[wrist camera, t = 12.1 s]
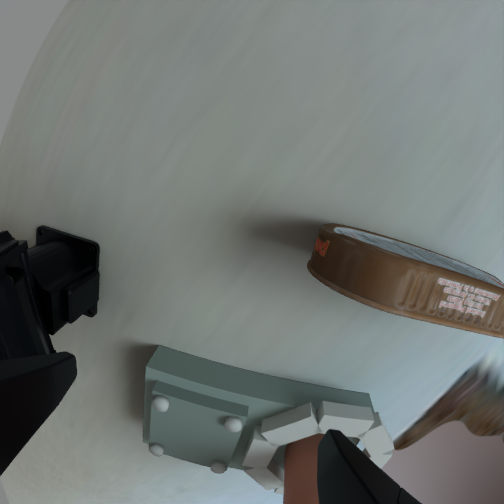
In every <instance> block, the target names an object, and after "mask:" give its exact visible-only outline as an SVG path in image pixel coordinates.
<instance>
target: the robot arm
mask: <svg viewBox="0 0 504 504" xmlns="http://www.w3.org/2000/svg"><path fill="white" fill-rule="evenodd" d="M41 230H42V232H43V234H42V232H41ZM92 247H94V251H93V250H92ZM99 253H100V247H99V245H98V244H97V243H96V242H94V241H91V240H87V239H84V238H81V237H78V236H75V235H71V234H68V233H65V232H62V231H59V230H56V229H53V228H49V227H46V226H40V227H38V228H37V233H36V246H34V247H31V248H29V249H28V245H27V240H22V241H18V240H15V239H14V238H13V237H12V236H11V235H10V233H9V232H8V231H1V232H0V475H2V474H3V472H4V471H5V470H6V468H7V467H8V466H9V465H10V463H11V462H12V461H13V460H14V458H15V457H16V456H17V455H18V453H19V452H20V451H21V450H22V448H23V447H24V446H25V445H26V443H27V442H28V441H29V440H30V438H31V437H32V436H33V435H34V434H35V432H36V431H37V430H38V429H39V428H40V426H41V425H42V424H43V423H44V422H45V420H46V419H47V418H48V417H49V416H50V414H51V413H52V412H53V411H54V410H55V408H56V407H57V406H58V405H59V403H60V402H61V400H62V399H63V397H64V396H65V394H66V393H67V391H68V389H69V388H70V386H71V385H72V383H73V382H74V380H75V379H76V376H77V366H76V358H75V356H74V355H73V354H71V353H68V352H58V353H56V350H54V348H53V345H52V342H51V339H50V336H49V334H50V335H54V334H55V333H56V332H57V331H58V330H60V329H61V328H62V327H63V326H64V325H65V324H66V323H69V324H71V323H73V322H74V321H75V320H77V319H78V318H79V317H80V316H81V315H82V314H84V315H86V316H88V317H94V316H95V315H96V314H97V301H98V300H99V276H100V273H99V271H98V268H99ZM90 310H91V311H92V312H91V311H90ZM317 489H318V498H319V504H422V503H420V502H419V501H417V500H416V499H415V498H414V497H412V496H411V495H410V494H409V493H408V492H407V491H405V490H404V489H403V488H400V486H399V485H398V484H397V483H396V482H395V481H393V479H391V478H390V477H389V476H388V475H387V474H386V473H385V472H383V470H381V469H380V468H379V467H378V466H377V465H376V464H375V463H374V462H373V461H372V460H371V459H370V458H368V457H367V456H366V455H365V454H364V453H363V452H362V451H361V450H360V449H359V448H358V447H357V446H356V445H355V444H354V443H352V442H351V441H350V440H349V439H348V438H347V437H346V436H345V435H344V434H343V433H342V432H341V431H340V430H335V429H329V430H327V432H326V433H325V435H324V436H323V438H322V439H321V441H320V443H319V445H318V453H317Z"/></svg>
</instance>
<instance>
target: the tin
mask: <svg viewBox="0 0 504 504" xmlns="http://www.w3.org/2000/svg"><path fill="white" fill-rule="evenodd" d="M307 268H308V270H309V272H310V273H311V274H312V275H313V276H314V277H315V278H317V279H318V280H319V281H320V282H322V283H323V284H325V285H326V286H328V287H330V288H331V289H332V290H334V291H336V292H338V293H340V294H342V295H344V296H346V297H349V298H351V299H353V300H356V301H358V302H360V303H363V304H365V305H368V306H370V307H373V308H376V309H379V310H382V311H385V312H388V313H392V314H396V315H400V316H404V317H408V318H412V319H417V320H421V321H426V322H430V323H434V324H438V325H444V326H447V327H453V328H457V329H461V330H465V331H471V332H475V333H479V334H484V335H489V336H493V337H498V338H504V283H502V282H501V281H500V280H499V279H498V278H496V277H495V276H493V275H491V274H489V273H487V272H485V271H482V270H480V269H477V268H475V267H473V266H470V265H468V264H465V263H463V262H460V261H457V260H455V259H452V258H449V257H446V256H444V255H441V254H438V253H435V252H432V251H430V250H427V249H424V248H421V247H418V246H415V245H412V244H409V243H406V242H403V241H400V240H396V239H393V238H390V237H387V236H383V235H380V234H376V233H373V232H369V231H366V230H362V229H358V228H354V227H350V226H346V225H340V224H326V225H324V226H323V227H322V228H321V229H320V231H319V234H318V236H317V240H316V243H315V247H314V250H313V254H312V257H311V259H310V260H309V261H308V263H307Z"/></svg>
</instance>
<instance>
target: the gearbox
mask: <svg viewBox="0 0 504 504" xmlns="http://www.w3.org/2000/svg"><path fill="white" fill-rule="evenodd" d="M329 429H335V430H340V431H341V432H342V433H343V434H344V435H345V436H346V437H347V438H348V439H349V440H350V441H351V442H352V443H354V444H355V445H357V444H358V442H359V441H360V440H361V442H362V443H363V445H364V446H365V449H364V450H363V451H362V452H363V453H364V454H365V455H366V456H367V457H368V458H370V459H371V460H372V461H373V462H374V463H375V464H376V465H377V466H378V467H379V468H380V469H381V468H382V467H383V466H384V465H385V463H386V462H387V461H388V460H389V459H390V458H391V456H392V455H393V453H392V450H393V449H394V445H393V442H392V439H391V436H390V434H389V432H388V430H387V428H386V426H385V424H384V422H383V420H382V418H381V416H380V415H379V413H378V412H376V413H375V412H374V409H373V405H372V402H371V399H370V395H369V394H367V393H360V392H354V391H347V390H341V389H335V388H329V387H323V386H318V385H312V384H307V383H302V382H297V381H292V380H287V379H283V378H278V377H274V376H269V375H265V374H260V373H256V372H252V371H248V370H244V369H240V368H236V367H232V366H228V365H225V364H221V363H217V362H214V361H210V360H206V359H203V358H200V357H196V356H193V355H189V354H186V353H183V352H179V351H176V350H173V349H170V348H167V347H164V346H161V345H159V346H158V348H157V349H156V351H155V353H154V354H153V356H152V357H151V359H150V361H149V362H148V364H147V365H146V373H145V390H144V411H143V442H144V443H147V444H149V451H150V452H151V453H152V454H153V455H156V456H162V455H163V454H165V455H169V456H172V457H175V458H178V459H182V460H185V461H188V462H192V463H196V464H199V465H203V466H207V467H211V471H213V472H215V473H224V472H225V471H226V470H227V468H228V467H231V468H235V469H240V470H244V471H245V472H246V473H247V474H248V475H249V476H250V477H252V478H253V479H254V480H255V481H256V482H258V483H259V484H260V485H261V486H262V487H264V488H265V489H266V490H270V489H275V493H279V494H284V460H285V448H286V446H287V445H288V444H289V443H291V442H294V441H297V440H300V439H303V438H306V437H309V436H311V435H314V434H317V433H322V434H325V433H326V432H327V430H329Z"/></svg>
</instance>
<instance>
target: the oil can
mask: <svg viewBox="0 0 504 504" xmlns="http://www.w3.org/2000/svg"><path fill="white" fill-rule="evenodd" d="M324 435H325V434H322V433H317V434H314V435H311V436H309V437H306V438H303V439H300V440H297V441H294V442H291V443H289V444H288V445H287V446H286V448H285V460H284V497H283V504H319V498H318V489H317V453H318V445H319V443H320V441H321V439H322V438H323V436H324Z"/></svg>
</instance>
